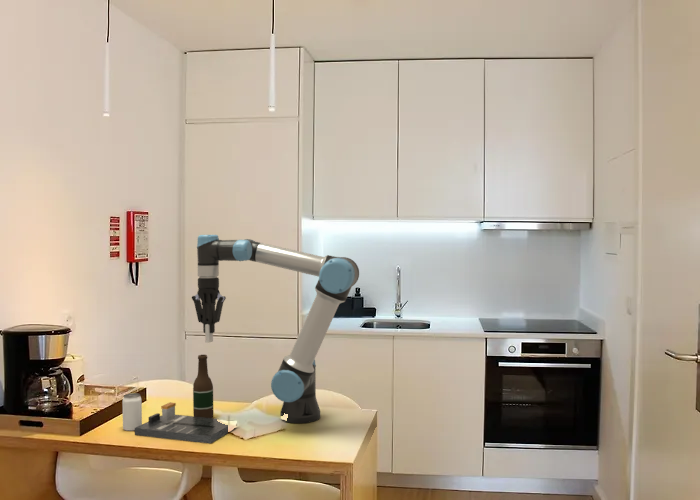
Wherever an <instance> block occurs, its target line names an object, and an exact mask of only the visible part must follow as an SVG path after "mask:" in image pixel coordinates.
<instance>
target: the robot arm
mask: <svg viewBox="0 0 700 500" xmlns="http://www.w3.org/2000/svg"><path fill="white" fill-rule="evenodd" d="M196 248H197V249H196V251H197V253H196V254H197V256H196V257H197V277H198V278H197V288H198V289H197V293H196V294H195V295H192V296H191V300H192V301H193V303H194V307H195V313H196V316H197V321H198V323H201V324H202V325H203V326H202V327H203V328H202V329H203V333H204V334H205V335H204V336H205V337H204V338H205V340H204V341H205V343H207V344H208V343H209V344H210V343H212V342H214V333H215V328H216V327H215V325H216V324H217V323H220V321H221V315H222V311H223V307H224V306H223V305H224V302H225V301H226V299H227V298H226V296H223V295H222V294H221V293H220V290H219V289H220V288H219V287H220V279H219V274H220V270H219V269H220V264H219V262H220V261H227V262H230V261H231V262H233V261H235V262H238V261H239V262H244V261H245V262H247V261H251V262H256V263H260V264H265V265H269V266H272V267H277V268H281V269H285V270H289V271H292V272H298V273H302V274H306V275H311V276H314V277H318V280H317V282H316V285H315V286H314V289H315V292H316V294H315V295H316V296H315V298H314V300H313V302H312V304H311V307H310V309H309V311H308V313H307V316H306V318H305V320H304V322H303V325H302V327H301V329H300V332H299V333H298V336H297V338H296V340H295V343H294V345H293V347H292V350H291V352H290V354H288V355H286V356H284V358H283V359H282V362H281V364H280V366H279V368H278V371H277V372H275V374H274V375H273V376H272V378H271V382H270V387H271V391H272V393H273V395H274V396H275V398H277V399H278V400H279V401H281V402H282V405H281V410H280V414H279V415H280V416H283V415H284V413H285V414H288V418H287V422H286V423H291V424H307V423H312V422H316V421H318V420H319V419H320V418H321V409H320V406H319V402H318V400H317V395H316V385H317V384H316V378H317V377H316V376H317V375H316V373H317V371H316V367H317V365H316V356H317V355H318V352H319V350H320V348H321V346H322V344H323V342H324V339H325V336H326V335H327V332H328V331H329V327H330V326H331V323H332V320H333V318H334V317H335V314H336V312H337V310H338V308H339V305H340V304H342V303H345V302H346V300H347V298H348V296H349V294H350V292H351V289H352V288H353V286H355V285H356V283H357V282H358V280H359V278H360V269H359V266H358V264H357V263H356V262H355V261H354V260H353V259H351V258H349V257H346V256H335V255H334V256H333V255H328V254H327V255H325V256H322V255H321V256H320V255H317V254H312V253H307V252H304V251H299V250H295V249H291V248H286V247H281V246H276V245H272V244H268V243H264V242H260V241H259V242H258V241H256V240H253V239H251V238H250V239H248V238H246V239H219V235H218V234H199V235H198V236H197V246H196Z"/></svg>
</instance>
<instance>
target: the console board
mask: <svg viewBox="0 0 700 500" xmlns="http://www.w3.org/2000/svg"><path fill="white" fill-rule="evenodd" d="M147 418H148V421H146V422H145V423H142V425H140V426H138V427H136V428H135V431H134V435H135V436H140V437H141V436H142V437H147V438H157V439H167V440H175V441H183V442H193V443H194V442H195V443H202V444H209V445H210V444H213V443H215V442H216V441H218V440H220V439H221V438H222V437H224V436H225V435H228V434H229V433H228V425H225V424H222V423H220V422H218V421H217V419H218V418H215V417H213V418H205V417H195V416H194V415H183V414H175V420H173V421H171V422H169V423H162V415H161V413H158V412H157V413H154V414H153V415H150V416H148V417H147Z"/></svg>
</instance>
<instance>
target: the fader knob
mask: <svg viewBox="0 0 700 500" xmlns="http://www.w3.org/2000/svg"><path fill="white" fill-rule="evenodd" d="M176 406H177V403H176V402H168V403H166V404H163V405H161V410H162V411H161V412H162V413H161V416H162V423H169V422H171V421H173V420H175V415H176Z"/></svg>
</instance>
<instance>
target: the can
mask: <svg viewBox="0 0 700 500" xmlns="http://www.w3.org/2000/svg"><path fill="white" fill-rule="evenodd" d="M142 400H143V399H142V397H141V394H140V393H137V392H136V393H133V392H132V393H126V394H125V395H123V398H122V428H123V430H124V431H126V432H135V428H136V427H138V426H140V425H142V424H143V413H142V412H143V407H142Z"/></svg>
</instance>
